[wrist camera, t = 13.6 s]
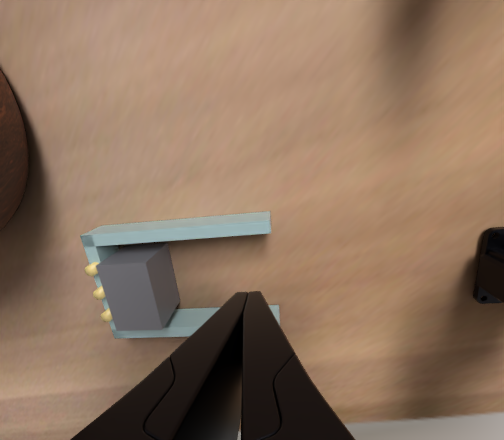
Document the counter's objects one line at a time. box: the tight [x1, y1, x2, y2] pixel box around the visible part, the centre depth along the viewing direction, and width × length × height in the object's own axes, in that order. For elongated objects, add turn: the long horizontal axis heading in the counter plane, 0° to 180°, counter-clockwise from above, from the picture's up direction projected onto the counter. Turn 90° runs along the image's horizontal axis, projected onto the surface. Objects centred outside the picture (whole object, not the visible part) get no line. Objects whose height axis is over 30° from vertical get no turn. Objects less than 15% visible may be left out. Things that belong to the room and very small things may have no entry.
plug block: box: [96, 243, 180, 331], centre depth 21 cm, size 4×6×4 cm
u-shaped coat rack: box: [80, 211, 280, 338], centre depth 20 cm, size 15×10×3 cm, turn 96°
